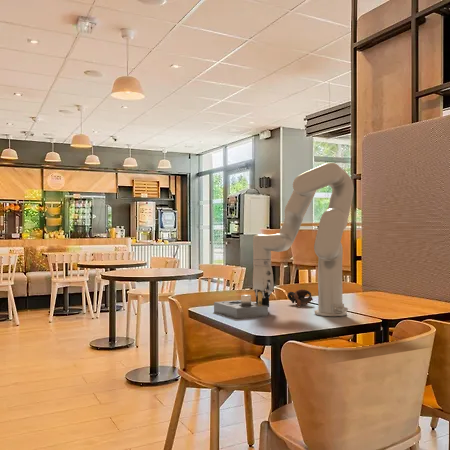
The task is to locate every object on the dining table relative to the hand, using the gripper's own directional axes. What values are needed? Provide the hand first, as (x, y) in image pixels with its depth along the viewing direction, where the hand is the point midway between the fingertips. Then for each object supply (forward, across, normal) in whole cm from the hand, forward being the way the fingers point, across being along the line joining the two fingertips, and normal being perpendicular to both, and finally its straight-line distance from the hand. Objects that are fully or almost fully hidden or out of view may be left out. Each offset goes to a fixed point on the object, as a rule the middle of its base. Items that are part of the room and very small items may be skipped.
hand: (262, 306), depth 200 cm
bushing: (+2, 0, 0) cm, 2 cm away
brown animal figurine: (+2, +5, -23) cm, 24 cm away
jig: (+2, -2, +12) cm, 12 cm away
